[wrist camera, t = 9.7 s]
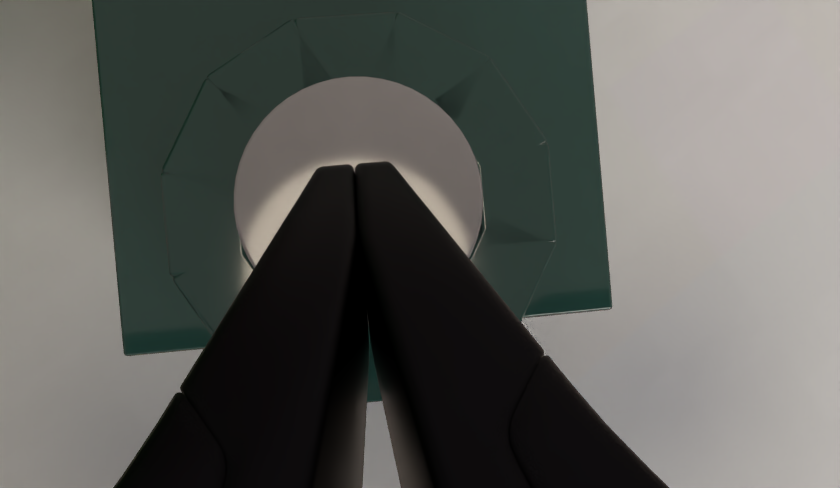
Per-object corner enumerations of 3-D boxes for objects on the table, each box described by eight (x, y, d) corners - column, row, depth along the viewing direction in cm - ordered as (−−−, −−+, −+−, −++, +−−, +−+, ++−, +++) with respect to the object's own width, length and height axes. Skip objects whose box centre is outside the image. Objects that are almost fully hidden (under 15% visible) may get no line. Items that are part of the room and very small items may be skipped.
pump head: (468, 298, 11) (494, 313, 9) (272, 316, 11) (243, 337, 9) (451, 103, 11) (472, 66, 9) (254, 118, 11) (221, 84, 8)
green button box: (533, 315, 19) (657, 372, 11) (215, 346, 19) (83, 432, 10) (501, -63, 19) (601, -302, 11) (180, -44, 19) (18, -283, 10)
